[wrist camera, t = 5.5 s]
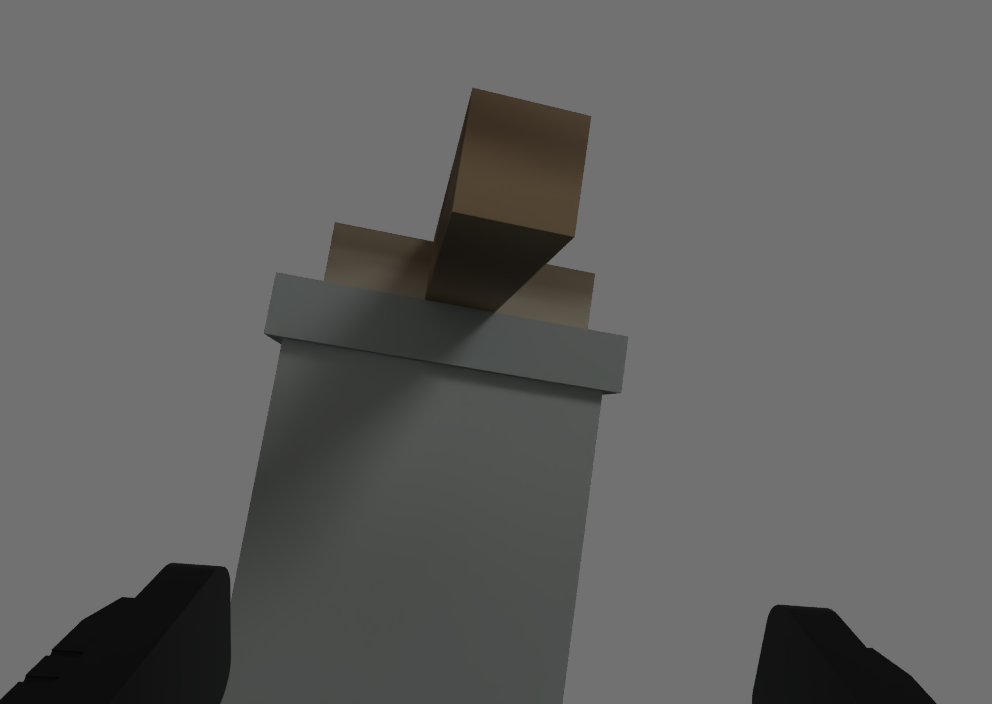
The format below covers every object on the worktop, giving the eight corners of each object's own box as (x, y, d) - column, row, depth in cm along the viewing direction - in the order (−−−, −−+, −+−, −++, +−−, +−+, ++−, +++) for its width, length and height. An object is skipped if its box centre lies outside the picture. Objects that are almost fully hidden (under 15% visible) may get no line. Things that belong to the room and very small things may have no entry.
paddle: (730, 269, 12) (742, 152, 13) (269, 173, 11) (296, 45, 11) (516, 359, 33) (523, 314, 33) (348, 330, 31) (356, 283, 32)
